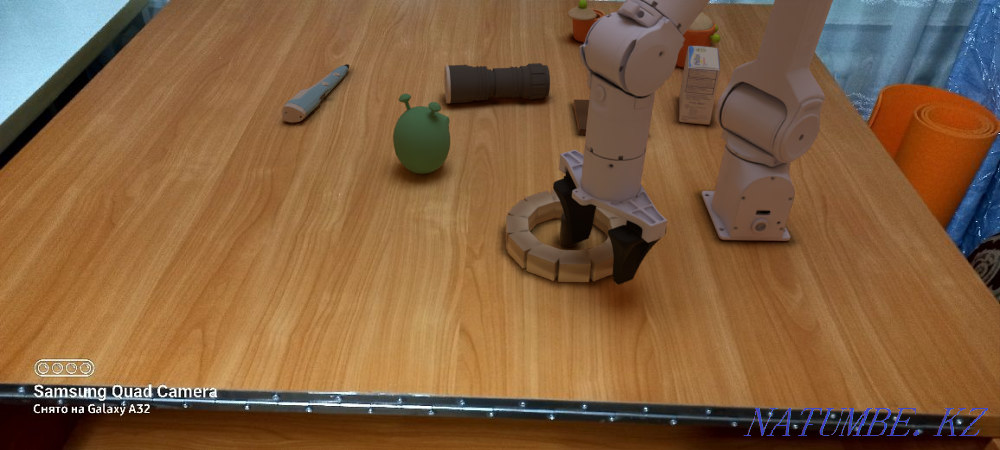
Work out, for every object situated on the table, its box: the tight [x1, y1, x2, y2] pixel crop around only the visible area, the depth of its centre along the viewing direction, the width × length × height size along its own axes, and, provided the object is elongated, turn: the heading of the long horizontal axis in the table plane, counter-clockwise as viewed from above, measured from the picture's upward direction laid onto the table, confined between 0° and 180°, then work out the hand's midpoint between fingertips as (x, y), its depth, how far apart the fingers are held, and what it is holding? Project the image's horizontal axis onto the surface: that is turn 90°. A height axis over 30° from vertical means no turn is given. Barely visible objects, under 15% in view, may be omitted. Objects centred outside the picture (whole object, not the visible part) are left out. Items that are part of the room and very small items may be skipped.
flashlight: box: [443, 62, 551, 104], centre depth 109 cm, size 15×5×5 cm, turn 99°
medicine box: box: [678, 46, 721, 126], centre depth 106 cm, size 8×4×9 cm, turn 168°
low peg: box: [558, 213, 578, 248], centre depth 81 cm, size 2×2×4 cm
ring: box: [505, 189, 627, 283], centre depth 81 cm, size 14×14×2 cm
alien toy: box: [392, 93, 451, 175], centre depth 91 cm, size 7×8×10 cm
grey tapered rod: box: [281, 63, 350, 123], centre depth 109 cm, size 19×3×3 cm, turn 166°
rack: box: [572, 99, 589, 136], centre depth 104 cm, size 9×9×6 cm
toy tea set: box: [566, 0, 722, 69], centre depth 124 cm, size 26×16×10 cm, turn 84°
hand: (600, 259), depth 77 cm, fingers open, 7 cm apart
